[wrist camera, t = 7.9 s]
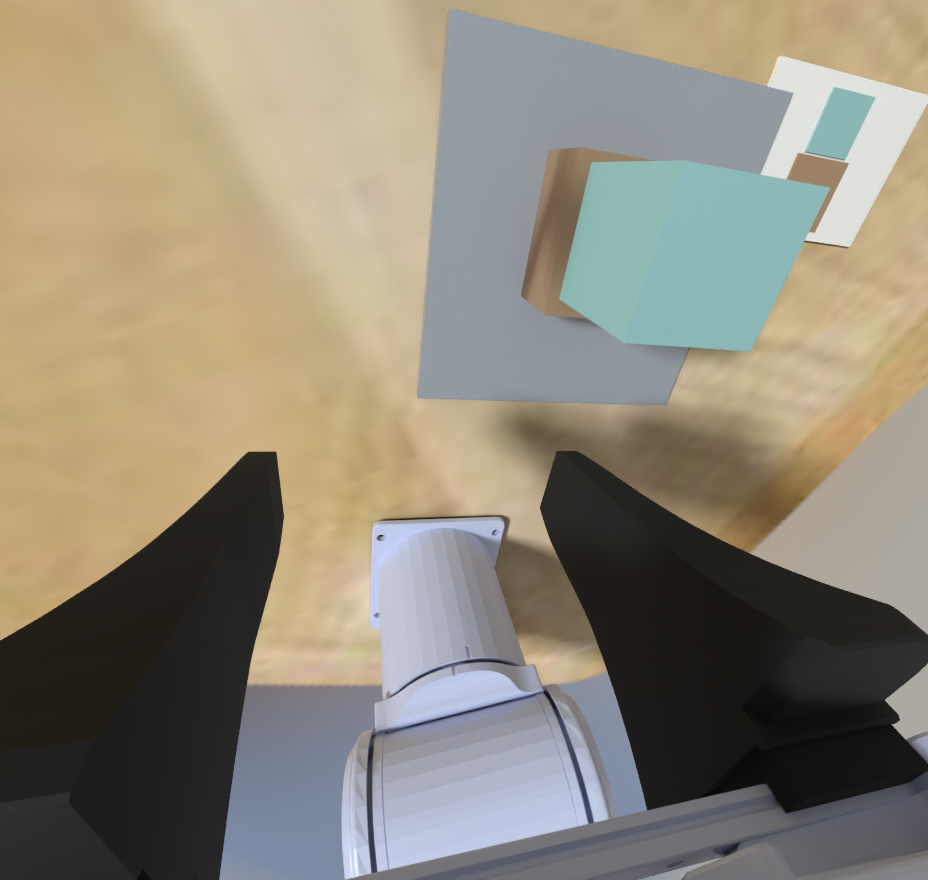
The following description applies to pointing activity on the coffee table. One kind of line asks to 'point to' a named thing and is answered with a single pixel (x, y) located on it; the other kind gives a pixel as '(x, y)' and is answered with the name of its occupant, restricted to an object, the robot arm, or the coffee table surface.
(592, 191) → the teal brick
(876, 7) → the coffee table surface
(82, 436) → the coffee table surface
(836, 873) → the robot arm
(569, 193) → the walnut brick
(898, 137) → the tile
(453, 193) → the build plate
